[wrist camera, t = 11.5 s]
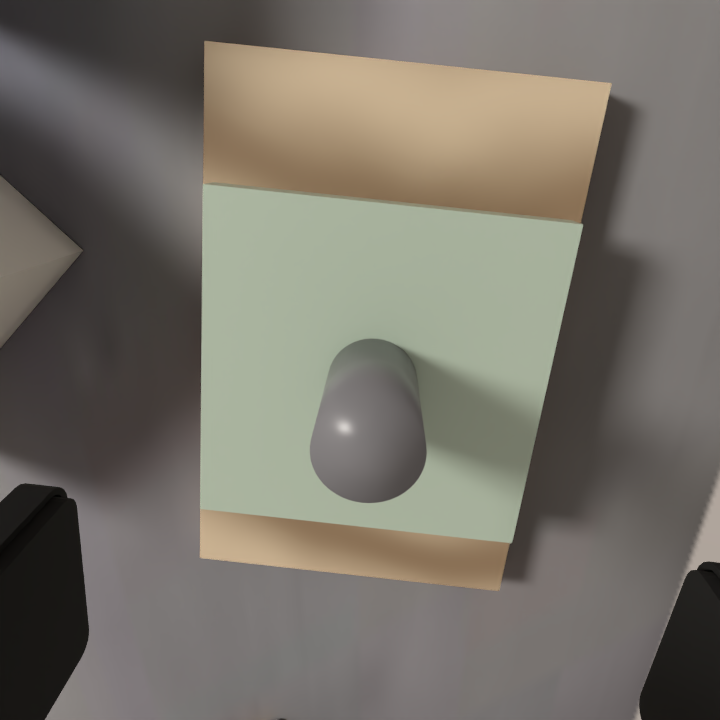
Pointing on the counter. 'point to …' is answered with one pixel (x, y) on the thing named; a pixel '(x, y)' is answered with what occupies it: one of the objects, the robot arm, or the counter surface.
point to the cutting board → (392, 183)
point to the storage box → (27, 258)
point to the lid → (375, 358)
